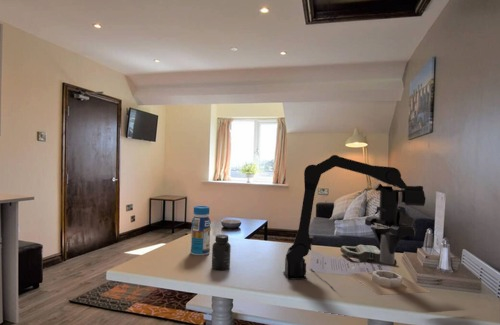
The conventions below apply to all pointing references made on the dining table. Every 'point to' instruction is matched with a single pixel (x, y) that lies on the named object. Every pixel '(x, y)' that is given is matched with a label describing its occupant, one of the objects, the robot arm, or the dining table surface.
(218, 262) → the supplement bottle
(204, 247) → the beverage bottle
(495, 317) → the dining table surface
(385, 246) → the grey rounded plug
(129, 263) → the dining table surface
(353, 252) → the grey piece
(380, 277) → the aluminium collar
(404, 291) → the tan square board
